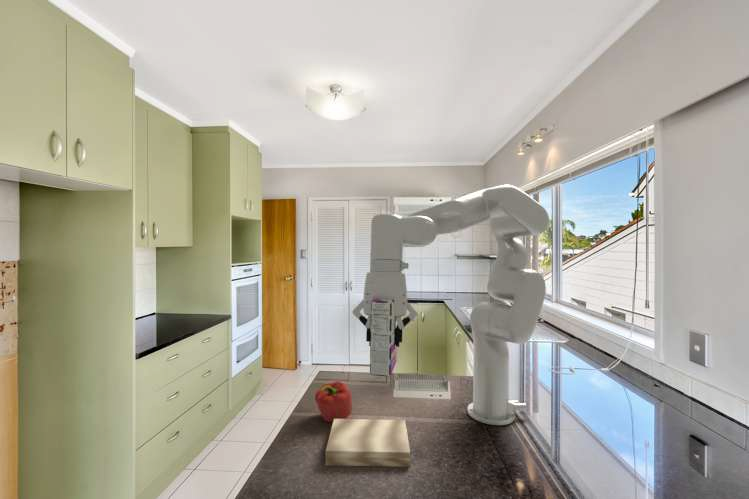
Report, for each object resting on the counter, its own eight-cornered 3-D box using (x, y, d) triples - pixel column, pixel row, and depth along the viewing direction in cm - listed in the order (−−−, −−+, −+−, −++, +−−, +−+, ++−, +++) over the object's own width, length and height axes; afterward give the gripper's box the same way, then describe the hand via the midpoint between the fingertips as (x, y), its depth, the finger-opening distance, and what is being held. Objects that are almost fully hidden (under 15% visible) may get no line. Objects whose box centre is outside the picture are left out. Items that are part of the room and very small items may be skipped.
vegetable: (335, 433, 84) (336, 393, 85) (304, 422, 90) (305, 384, 90) (360, 416, 94) (360, 379, 94) (331, 406, 99) (331, 372, 99)
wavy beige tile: (404, 431, 86) (404, 419, 86) (410, 466, 72) (410, 452, 72) (333, 430, 86) (334, 418, 86) (325, 465, 72) (325, 450, 72)
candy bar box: (377, 360, 85) (378, 294, 85) (396, 361, 84) (398, 295, 84) (367, 375, 74) (370, 299, 74) (390, 377, 73) (392, 301, 73)
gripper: (420, 267, 83) (418, 342, 83) (350, 265, 83) (348, 340, 82) (425, 269, 75) (423, 350, 75) (348, 266, 75) (345, 348, 75)
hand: (383, 344), depth 79 cm, fingers closed on candy bar box, 5 cm apart
